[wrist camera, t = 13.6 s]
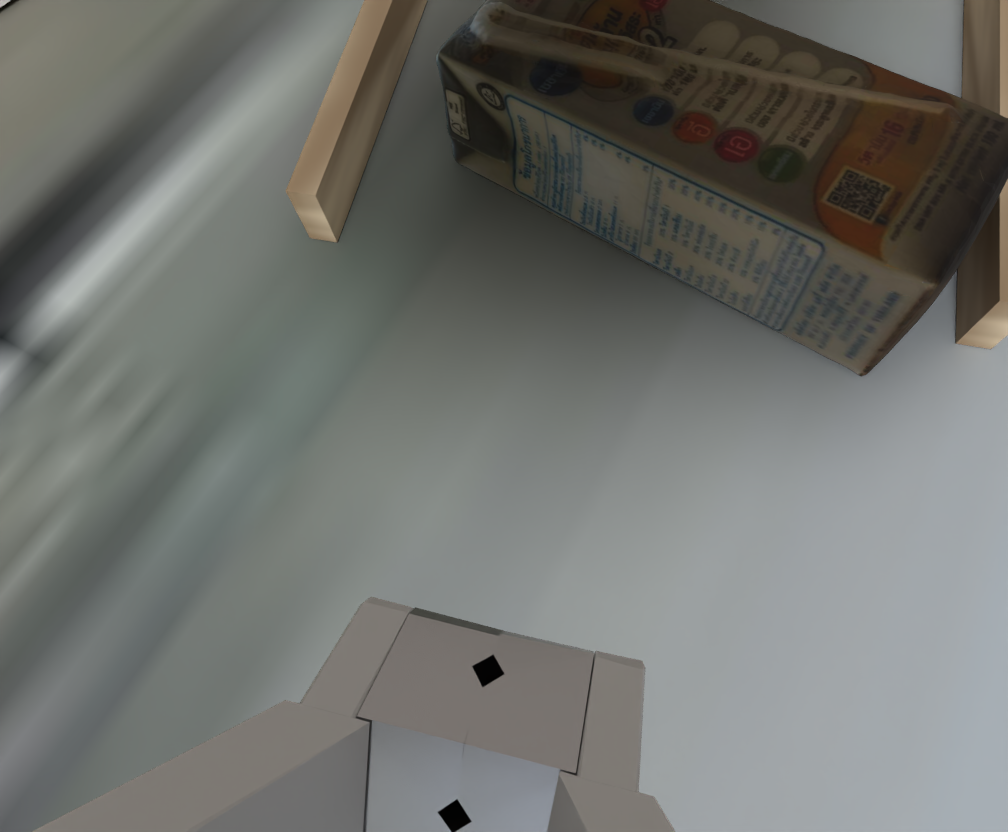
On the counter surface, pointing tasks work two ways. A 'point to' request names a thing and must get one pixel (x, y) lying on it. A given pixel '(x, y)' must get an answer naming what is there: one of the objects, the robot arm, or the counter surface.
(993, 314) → the frame
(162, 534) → the counter surface
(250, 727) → the robot arm
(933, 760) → the counter surface
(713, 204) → the beverage carton
